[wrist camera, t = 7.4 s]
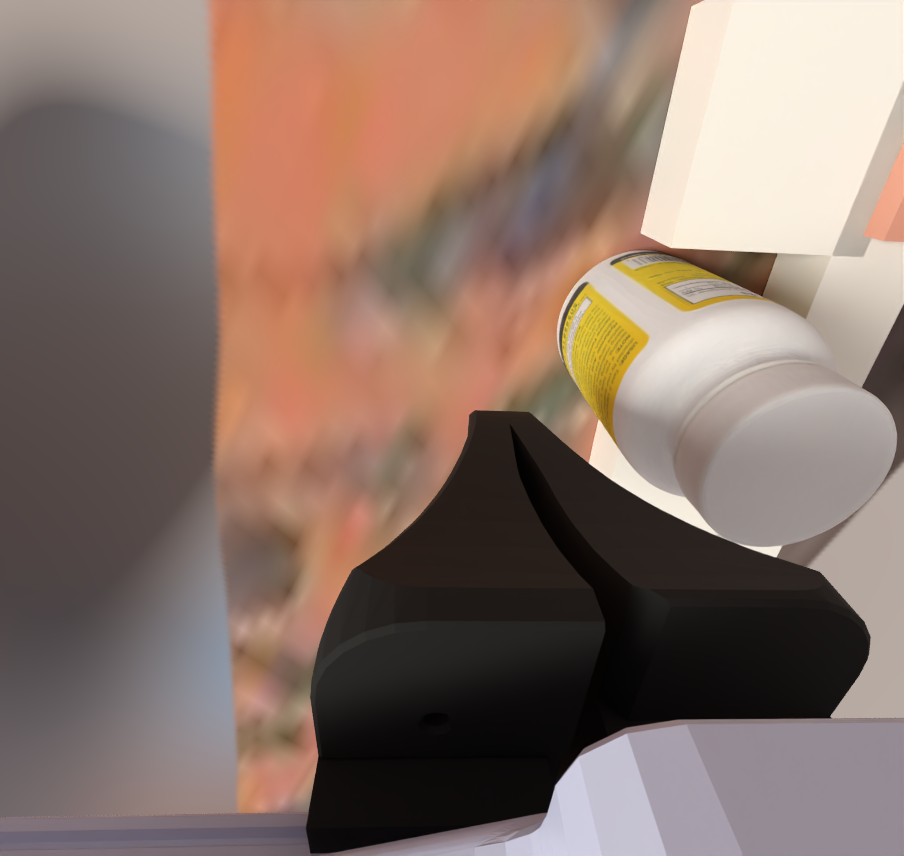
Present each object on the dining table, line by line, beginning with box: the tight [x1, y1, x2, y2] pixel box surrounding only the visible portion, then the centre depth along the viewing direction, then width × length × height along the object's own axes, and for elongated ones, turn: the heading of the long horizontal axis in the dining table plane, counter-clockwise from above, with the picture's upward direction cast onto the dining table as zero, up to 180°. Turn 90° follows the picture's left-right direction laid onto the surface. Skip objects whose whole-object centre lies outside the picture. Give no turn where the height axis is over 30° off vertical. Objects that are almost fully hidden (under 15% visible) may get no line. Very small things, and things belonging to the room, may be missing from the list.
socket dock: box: [589, 0, 904, 557], centre depth 18 cm, size 19×8×3 cm, turn 177°
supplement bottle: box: [557, 250, 897, 547], centre depth 15 cm, size 5×5×10 cm
